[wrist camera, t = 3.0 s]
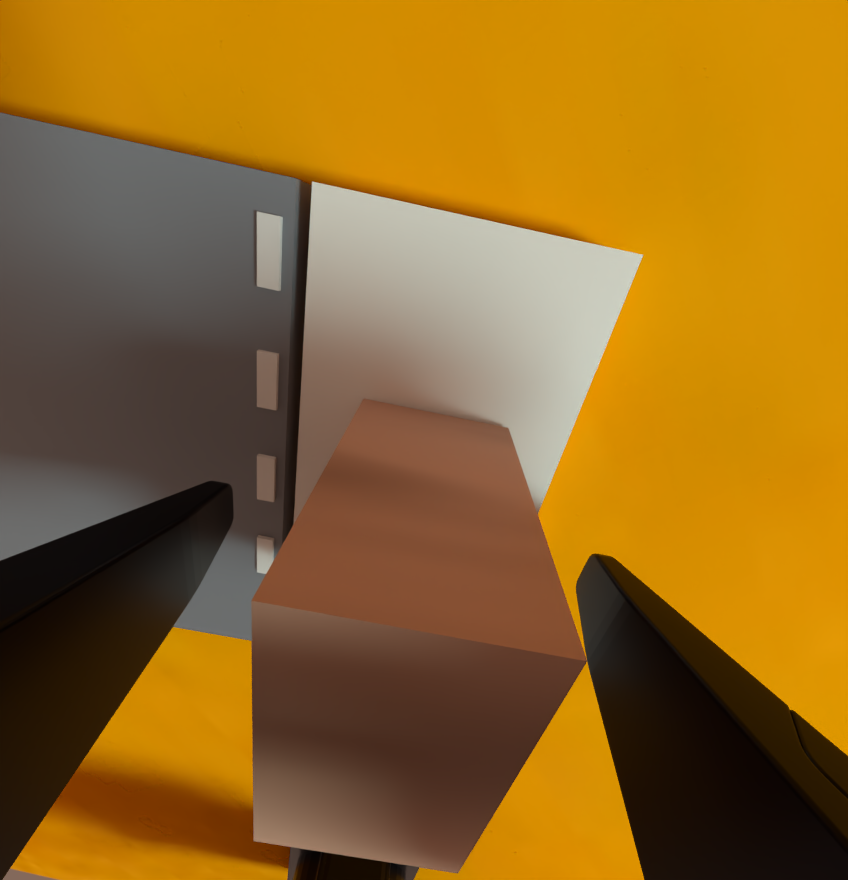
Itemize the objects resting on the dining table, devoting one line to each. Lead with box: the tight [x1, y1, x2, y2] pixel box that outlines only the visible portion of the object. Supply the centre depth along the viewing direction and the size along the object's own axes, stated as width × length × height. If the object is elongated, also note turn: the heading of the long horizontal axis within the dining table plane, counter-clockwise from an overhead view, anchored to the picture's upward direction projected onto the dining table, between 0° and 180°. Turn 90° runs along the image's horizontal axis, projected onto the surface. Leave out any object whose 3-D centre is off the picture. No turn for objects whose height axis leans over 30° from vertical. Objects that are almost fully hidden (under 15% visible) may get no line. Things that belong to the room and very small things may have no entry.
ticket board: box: [0, 113, 312, 641], centre depth 9 cm, size 12×12×1 cm
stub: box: [251, 181, 643, 873], centre depth 7 cm, size 12×6×6 cm, turn 169°
